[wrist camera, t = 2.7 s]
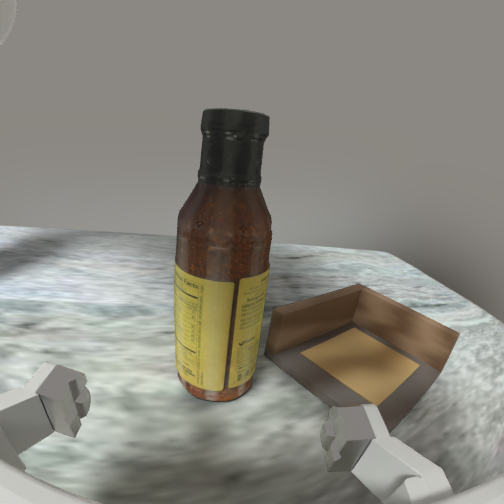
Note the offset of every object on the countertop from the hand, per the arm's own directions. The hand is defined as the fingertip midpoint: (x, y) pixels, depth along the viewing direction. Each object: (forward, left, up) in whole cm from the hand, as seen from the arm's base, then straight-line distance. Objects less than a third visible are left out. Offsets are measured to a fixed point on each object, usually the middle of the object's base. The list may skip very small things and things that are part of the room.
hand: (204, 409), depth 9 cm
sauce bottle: (-10, +7, -10) cm, 16 cm away
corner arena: (-4, +20, -10) cm, 23 cm away
